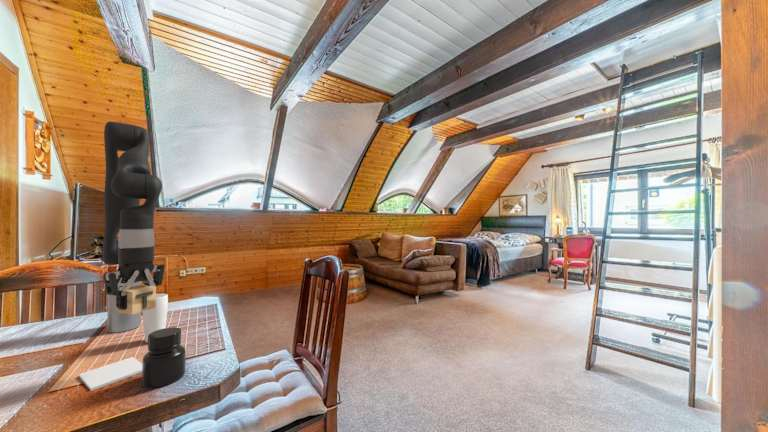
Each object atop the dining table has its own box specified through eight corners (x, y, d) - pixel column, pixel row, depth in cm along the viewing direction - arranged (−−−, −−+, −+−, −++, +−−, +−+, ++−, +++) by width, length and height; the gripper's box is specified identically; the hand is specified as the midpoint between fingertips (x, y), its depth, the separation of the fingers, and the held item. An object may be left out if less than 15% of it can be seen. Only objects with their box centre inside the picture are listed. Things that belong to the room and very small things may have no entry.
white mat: (78, 376, 73) (78, 374, 73) (132, 358, 83) (132, 356, 83) (90, 391, 67) (90, 388, 67) (147, 370, 77) (147, 367, 77)
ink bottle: (181, 365, 80) (182, 322, 80) (191, 376, 74) (192, 331, 74) (136, 380, 72) (136, 333, 72) (144, 394, 66) (144, 343, 66)
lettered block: (139, 305, 82) (139, 284, 82) (156, 307, 80) (156, 286, 80) (115, 312, 76) (115, 289, 76) (133, 314, 74) (133, 292, 74)
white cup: (153, 345, 91) (153, 299, 91) (136, 343, 92) (136, 298, 92) (172, 337, 97) (173, 294, 98) (156, 335, 99) (157, 292, 99)
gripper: (153, 242, 86) (153, 297, 86) (95, 247, 72) (94, 312, 72) (172, 243, 84) (172, 299, 84) (116, 248, 70) (115, 315, 70)
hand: (136, 305), depth 78 cm, fingers closed on lettered block, 6 cm apart
